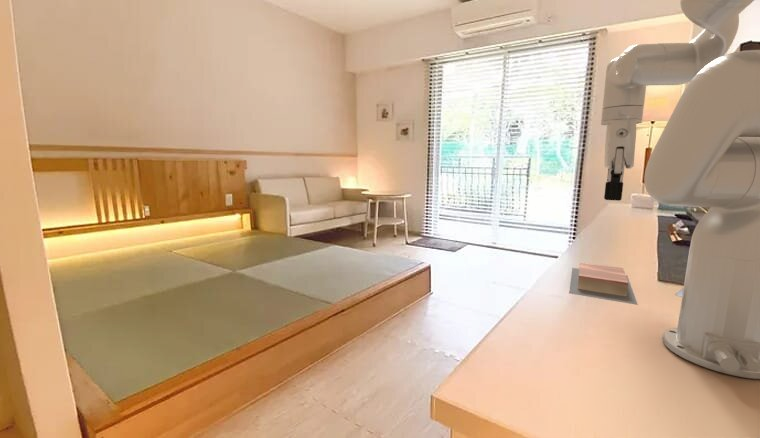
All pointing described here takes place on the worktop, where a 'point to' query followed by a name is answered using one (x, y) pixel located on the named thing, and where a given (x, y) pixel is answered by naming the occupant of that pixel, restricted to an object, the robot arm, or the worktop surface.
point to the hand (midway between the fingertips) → (612, 199)
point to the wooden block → (602, 279)
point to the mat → (575, 290)
